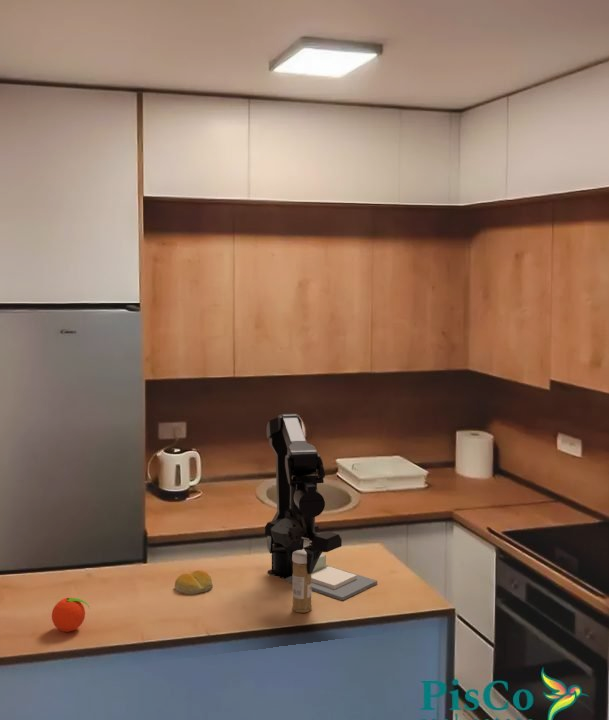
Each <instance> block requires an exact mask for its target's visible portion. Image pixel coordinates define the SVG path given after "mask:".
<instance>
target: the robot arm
mask: <svg viewBox="0 0 609 720" xmlns="http://www.w3.org/2000/svg"><path fill="white" fill-rule="evenodd" d="M304 434H305V433H304V431H303V420H302V419H301V417H300V415H299V414H297V413H281V414H279V415H278V416H277V417H275V418H272V419H270V420H268V423H267V425H266V437H267V438H266V439H268V443H269V446H270V447H271V449H272V451H273V452H274V455H275V475H276V476H275V480H276V482H275V483H276V484H275V485H276V487H275V488H276V489H275V490H276V512H275V514H274V516H273V518H272V520H270V521H268V522H266V525H264V536H267V537H266V538H267V539H266V547H267V550H268V552H269V554H271V568H270V569H269V570H267V572H266V573H267V574H270V575H272V576H275V577H277V578H282V579H285V580H286V578H288V577H290V576H293V561H292V553H293V552H294V551H297V550H305V551H306V552H307V572H308V574H311V573H312V572H313V570H314V568H315V565H316V563H317V561H318V559H319V557H320V555H321V554H323V553H329V552H331V551H333V550H336V549H339V548H341V547H342V543H343V542H342V540H343V539H342V536H341V535H340V534H339V533H335V532H332V531H328V530H327V531H324V532H321V533H316V532H317V531H319V525H317V524H316V518H317V517H319V516H320V515H321V514H322V513H323V512H324V509H325V506H326V501H325V499H324V496H323V495H322V494H321V493H320V491H319V490H318V484H324V483H325V482H324V479H325V476H326V474H325V467H324V463H323V459H322V457H321V454H320V453H318V450H317V449H316V447H315V446H314V444H311V443H309V442H308V441H307V439H306V436H305V435H304ZM305 540H306V541H308V542H309V543H308V545H306V546H305V547H304V543H305Z"/></svg>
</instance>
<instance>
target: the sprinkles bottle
mask: <svg viewBox="0 0 609 720" xmlns="http://www.w3.org/2000/svg"><path fill="white" fill-rule="evenodd" d="M292 561H293V584H292V606H291V607H292V610H293V611H294V612H297V613H301V614H303V613H308V612H310V611H311V610H312V595H313V594H312V593H313V592H312V590H311V574H308V572H307V552H306V551H305V550H304V549H302V550H297V551H294V552H293V553H292Z"/></svg>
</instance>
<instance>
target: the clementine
mask: <svg viewBox="0 0 609 720" xmlns="http://www.w3.org/2000/svg"><path fill="white" fill-rule="evenodd" d="M83 604H85V605H87V607H88V608H90V605H89V603H87V602H86V601H85V600H83V599H81V598H76V597H65V598H63V599H61V600H59V601H58V602H56V604H55V606H54V607H53V609H52V611H51V612H52V613H51V621H52V623H53V625H54V627H55V628H57V630H59V631H61V632H64V633H65V632H73V631H75V630H77V629H78V628H79V627H81V625H82V624H83V623H84V621H85V618H86V608H85V607H84V605H83Z"/></svg>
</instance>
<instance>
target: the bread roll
mask: <svg viewBox="0 0 609 720" xmlns="http://www.w3.org/2000/svg"><path fill="white" fill-rule="evenodd" d="M212 581H213V580H212V577H211V576H210V575H209V574H208V572H206V571H204V570H194V571H192V572H191V573H183V574H180V575H179V576H178V577H177V578H176V580H175V581H174V588H175V591H177V592H178V593H181V594H185V595H195V594H201V593H205V592H208V591H210V590H212V589H213V586H214V584H213V582H212Z"/></svg>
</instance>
